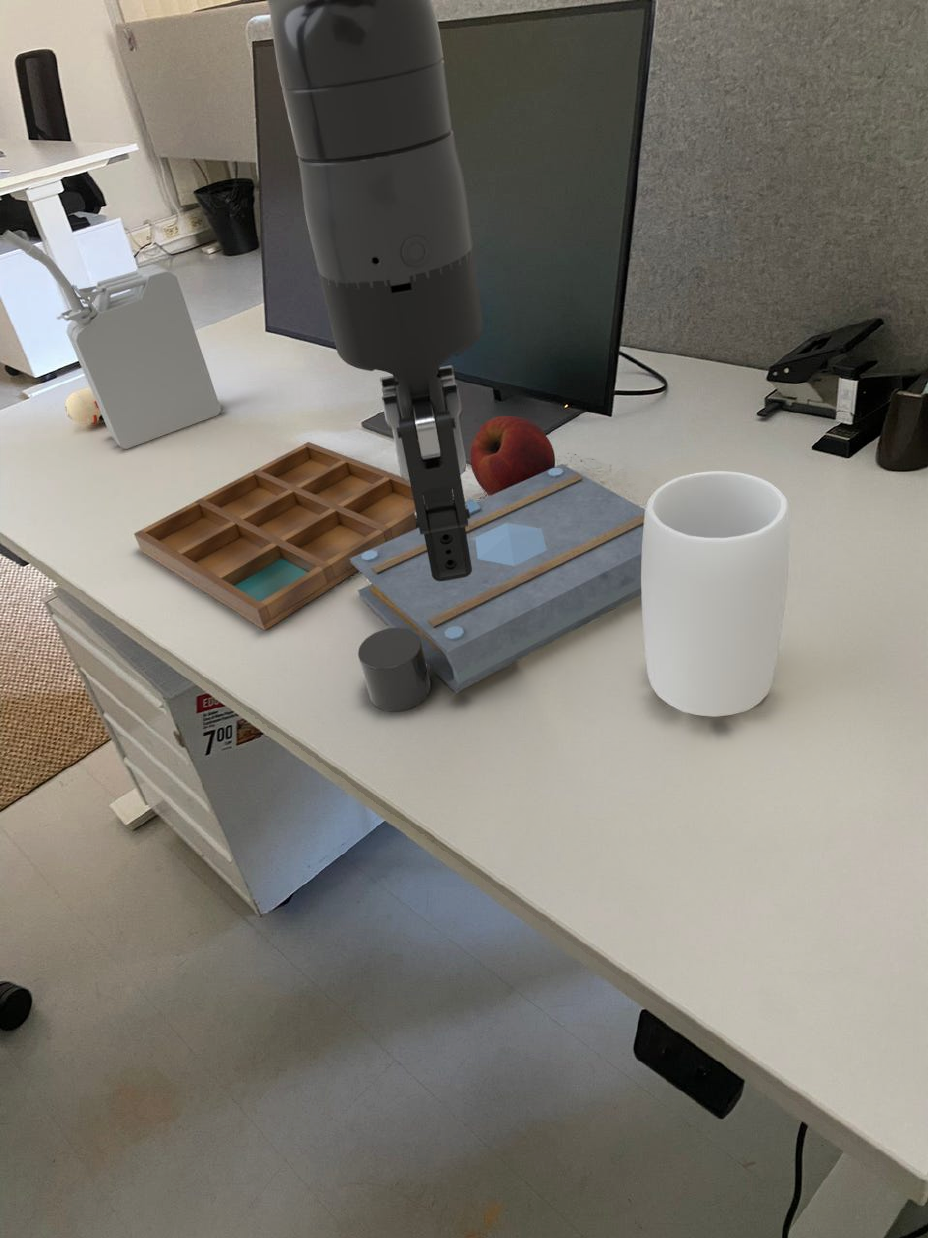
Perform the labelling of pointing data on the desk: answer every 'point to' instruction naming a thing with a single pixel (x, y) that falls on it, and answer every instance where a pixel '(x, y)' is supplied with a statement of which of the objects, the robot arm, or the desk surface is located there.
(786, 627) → the desk surface
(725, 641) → the cup
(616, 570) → the book
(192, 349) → the fuel canister
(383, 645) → the dark grey cylinder
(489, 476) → the apple
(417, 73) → the robot arm
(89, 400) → the toy figurine
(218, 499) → the board
